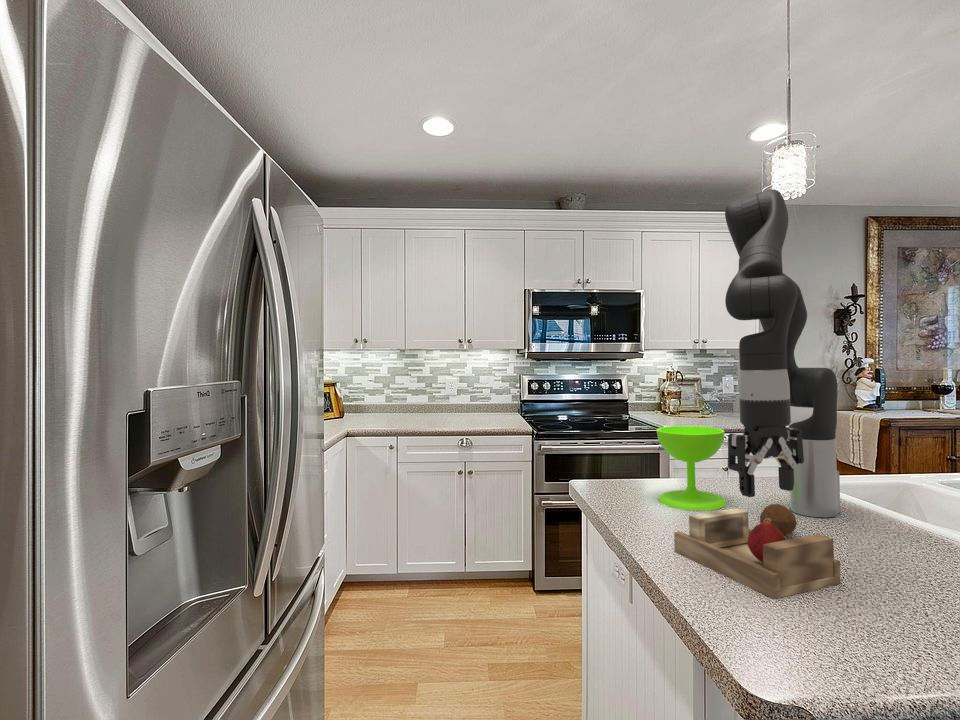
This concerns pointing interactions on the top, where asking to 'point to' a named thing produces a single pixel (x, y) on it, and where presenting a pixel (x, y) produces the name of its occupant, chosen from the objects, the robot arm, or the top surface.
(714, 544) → the jaw
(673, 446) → the wineglass
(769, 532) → the onion
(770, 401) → the robot arm
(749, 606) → the top surface
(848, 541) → the top surface
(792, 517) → the potato
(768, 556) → the vise base
